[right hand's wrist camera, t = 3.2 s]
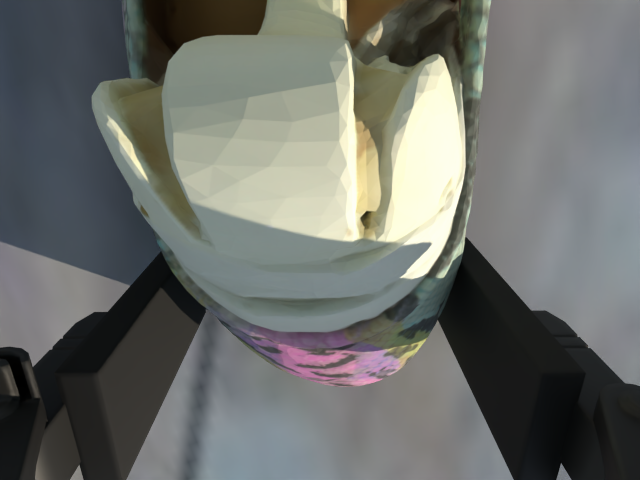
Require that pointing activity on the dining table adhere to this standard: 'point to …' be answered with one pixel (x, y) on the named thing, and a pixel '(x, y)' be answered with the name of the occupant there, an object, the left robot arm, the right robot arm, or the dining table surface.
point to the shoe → (305, 166)
